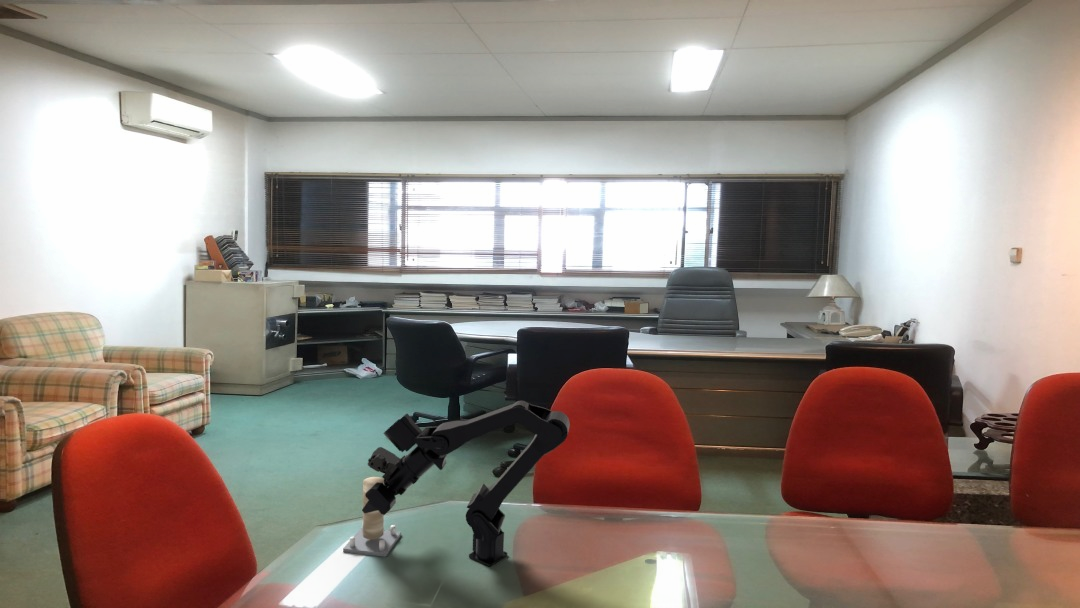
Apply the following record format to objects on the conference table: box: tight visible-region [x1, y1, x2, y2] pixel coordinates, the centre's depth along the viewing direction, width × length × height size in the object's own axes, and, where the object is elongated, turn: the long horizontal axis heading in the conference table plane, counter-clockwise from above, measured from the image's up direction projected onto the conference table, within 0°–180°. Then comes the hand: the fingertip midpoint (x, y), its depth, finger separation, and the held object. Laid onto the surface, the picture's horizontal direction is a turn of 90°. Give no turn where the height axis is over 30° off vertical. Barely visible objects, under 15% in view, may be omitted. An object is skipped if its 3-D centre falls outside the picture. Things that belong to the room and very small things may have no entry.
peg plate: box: [342, 522, 402, 557], centre depth 146 cm, size 10×10×3 cm
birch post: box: [362, 476, 385, 539], centre depth 145 cm, size 5×5×13 cm
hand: (367, 506), depth 146 cm, fingers closed on birch post, 4 cm apart
